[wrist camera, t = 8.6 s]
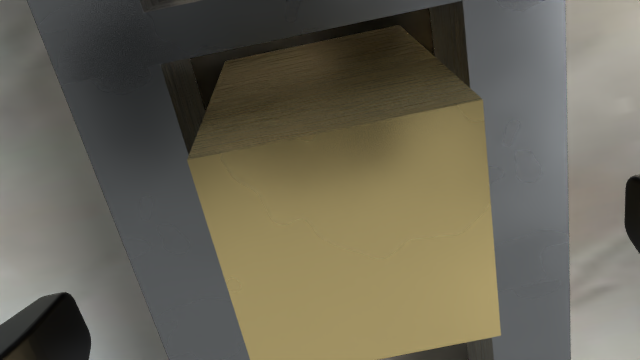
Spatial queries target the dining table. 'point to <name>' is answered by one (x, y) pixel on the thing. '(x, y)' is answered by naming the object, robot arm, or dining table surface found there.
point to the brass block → (349, 200)
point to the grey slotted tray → (287, 21)
